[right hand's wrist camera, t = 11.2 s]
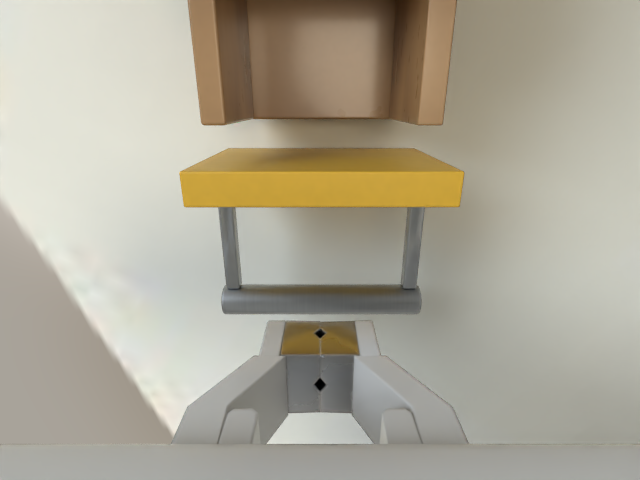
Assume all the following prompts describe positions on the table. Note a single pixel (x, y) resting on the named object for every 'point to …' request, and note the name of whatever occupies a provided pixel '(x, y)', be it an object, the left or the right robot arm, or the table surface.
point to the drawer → (321, 103)
